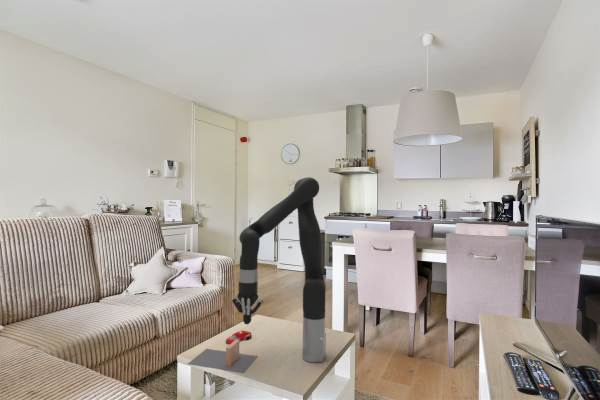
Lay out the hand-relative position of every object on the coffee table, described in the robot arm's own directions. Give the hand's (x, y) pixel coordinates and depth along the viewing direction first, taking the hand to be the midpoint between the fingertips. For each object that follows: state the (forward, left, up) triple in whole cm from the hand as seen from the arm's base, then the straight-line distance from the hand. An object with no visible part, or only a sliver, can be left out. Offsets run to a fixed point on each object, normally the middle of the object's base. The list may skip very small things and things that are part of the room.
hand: (247, 323), depth 129 cm
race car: (+13, -20, -17) cm, 29 cm away
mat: (+10, 0, -16) cm, 19 cm away
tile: (+6, 0, -16) cm, 17 cm away
